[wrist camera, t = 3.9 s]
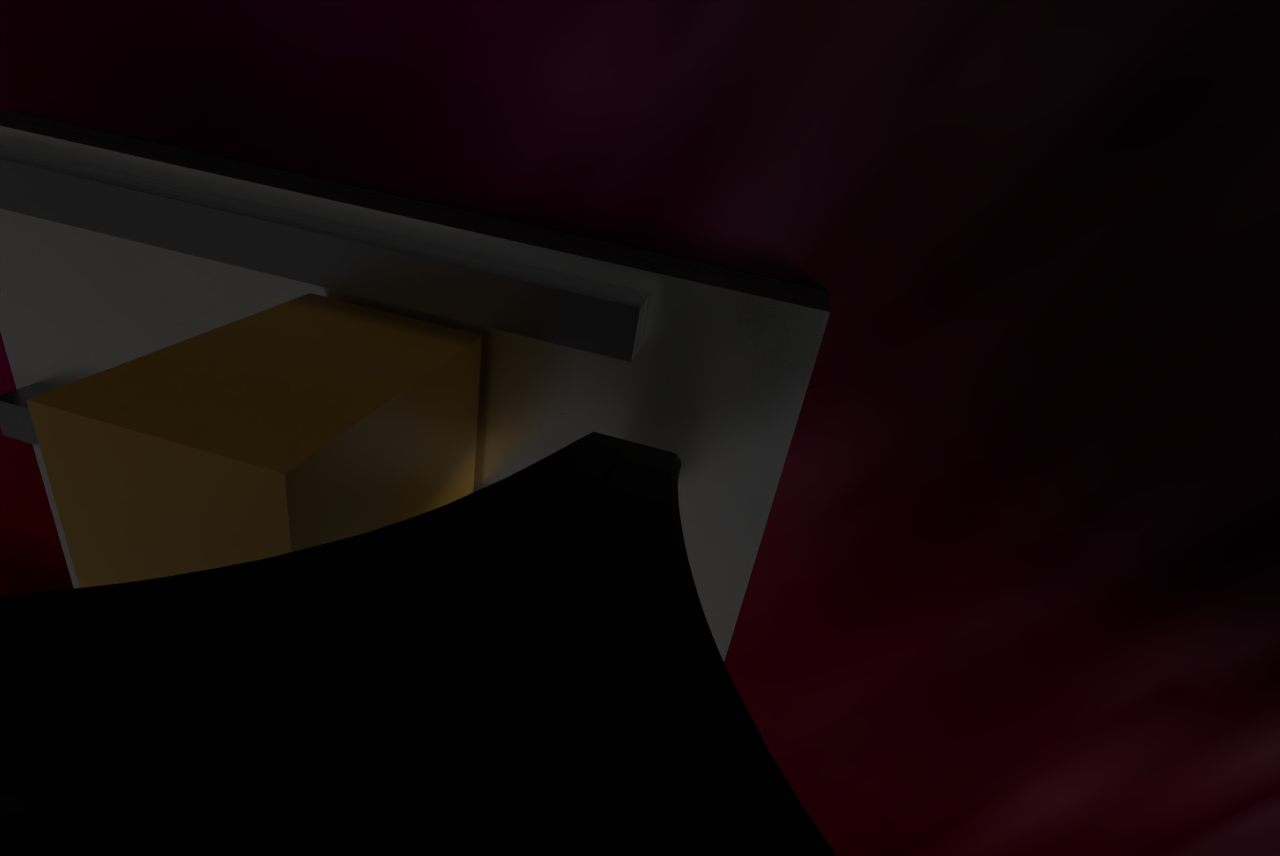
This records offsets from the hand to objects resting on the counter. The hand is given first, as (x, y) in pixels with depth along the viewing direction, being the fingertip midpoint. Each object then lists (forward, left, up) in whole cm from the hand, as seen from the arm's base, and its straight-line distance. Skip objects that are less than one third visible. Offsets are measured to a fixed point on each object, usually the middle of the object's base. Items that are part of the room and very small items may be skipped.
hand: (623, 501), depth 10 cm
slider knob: (+4, 0, -1) cm, 4 cm away
